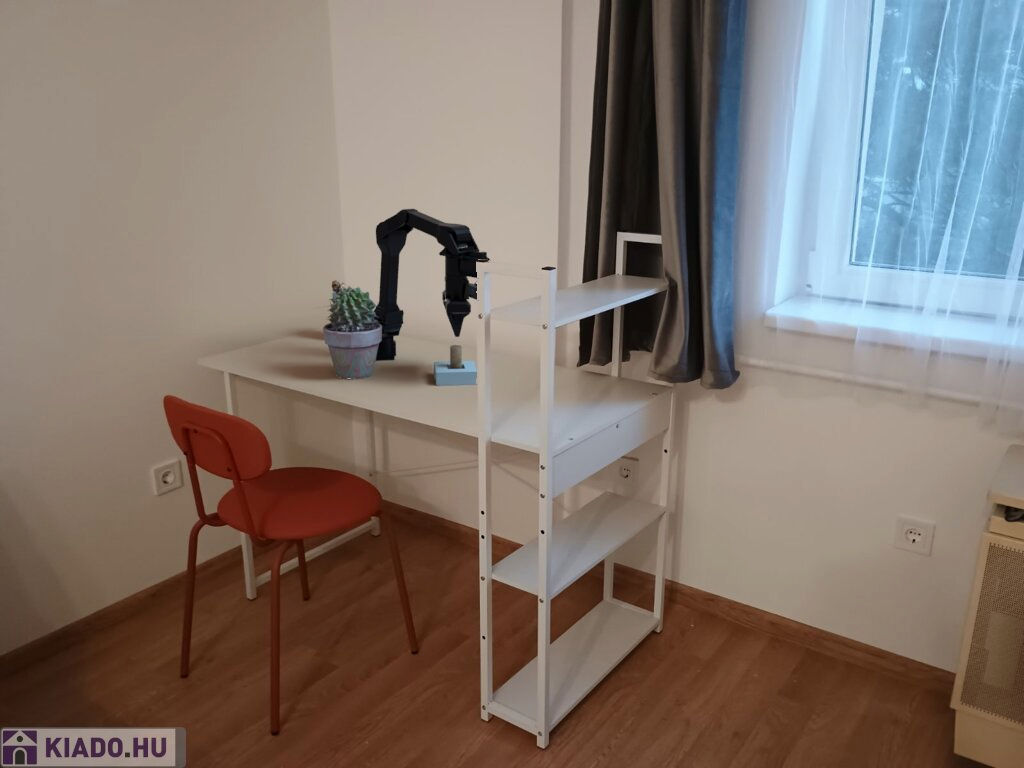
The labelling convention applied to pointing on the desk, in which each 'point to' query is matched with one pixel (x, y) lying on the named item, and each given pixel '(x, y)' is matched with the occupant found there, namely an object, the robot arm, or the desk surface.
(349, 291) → the potted plant
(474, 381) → the socket block
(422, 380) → the desk surface
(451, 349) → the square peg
